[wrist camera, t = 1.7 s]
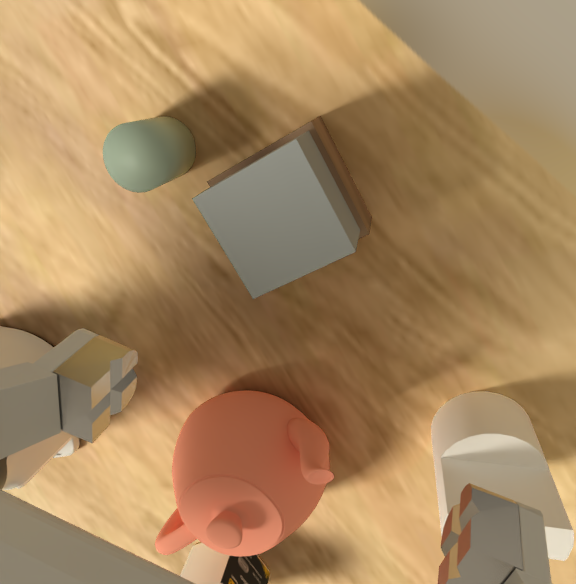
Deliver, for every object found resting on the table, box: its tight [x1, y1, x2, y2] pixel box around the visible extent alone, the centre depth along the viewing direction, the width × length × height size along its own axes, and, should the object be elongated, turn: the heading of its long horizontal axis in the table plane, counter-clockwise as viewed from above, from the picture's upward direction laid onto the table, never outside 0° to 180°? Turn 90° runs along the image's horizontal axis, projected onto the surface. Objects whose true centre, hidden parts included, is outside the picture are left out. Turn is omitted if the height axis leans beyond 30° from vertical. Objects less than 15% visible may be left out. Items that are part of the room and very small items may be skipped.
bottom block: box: [207, 116, 372, 239], centre depth 40 cm, size 9×9×5 cm
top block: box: [192, 131, 360, 299], centre depth 35 cm, size 8×8×5 cm
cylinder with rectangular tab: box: [431, 391, 574, 561], centre depth 42 cm, size 9×9×12 cm
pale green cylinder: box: [103, 116, 196, 192], centre depth 40 cm, size 5×5×6 cm
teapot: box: [155, 390, 334, 557], centre depth 47 cm, size 22×15×12 cm
